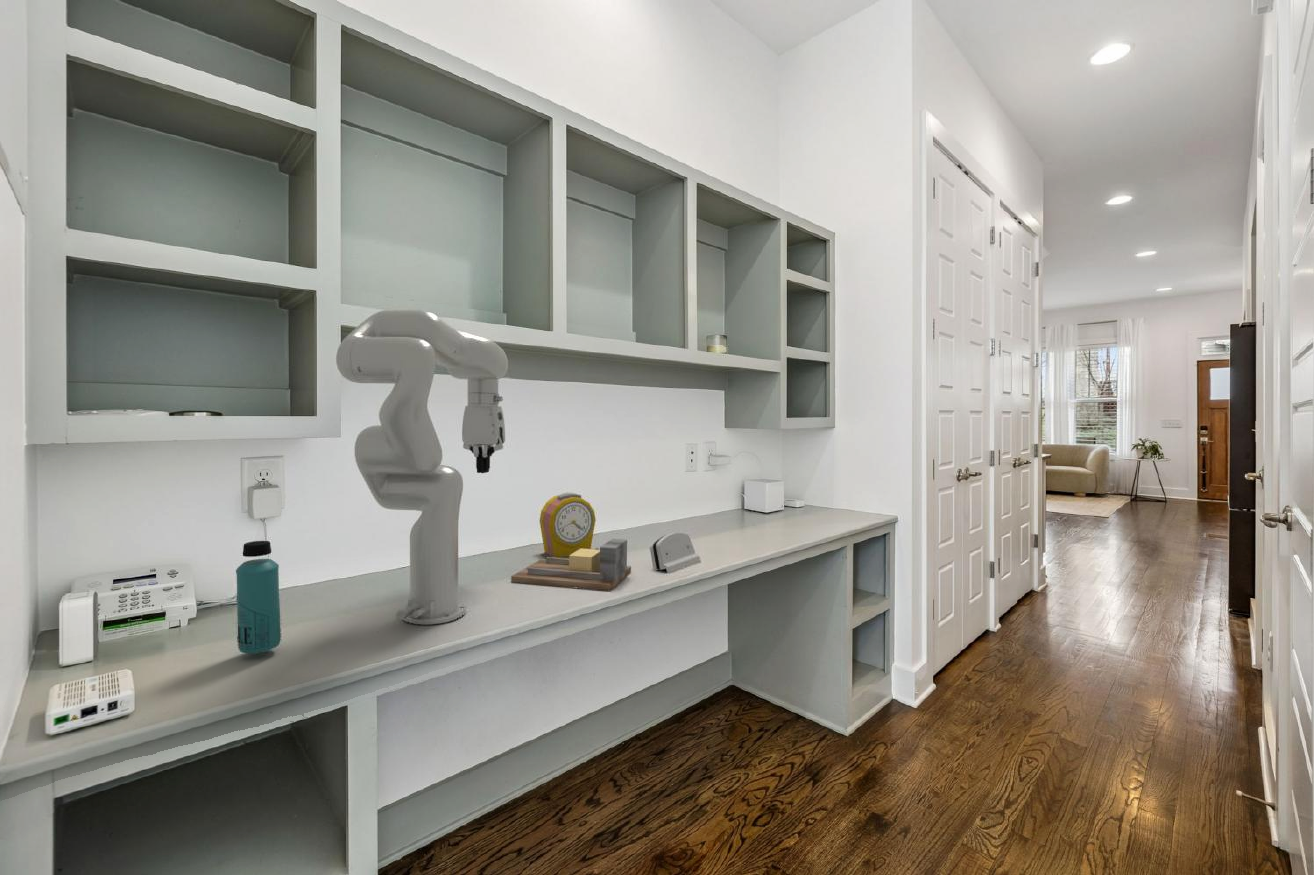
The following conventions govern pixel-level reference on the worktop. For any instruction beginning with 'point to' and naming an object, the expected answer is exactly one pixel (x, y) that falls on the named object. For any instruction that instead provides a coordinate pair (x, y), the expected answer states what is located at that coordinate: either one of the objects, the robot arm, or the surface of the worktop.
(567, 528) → the alarm clock
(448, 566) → the robot arm
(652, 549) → the hinge
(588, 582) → the base
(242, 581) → the beverage bottle
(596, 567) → the block
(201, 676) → the worktop surface
